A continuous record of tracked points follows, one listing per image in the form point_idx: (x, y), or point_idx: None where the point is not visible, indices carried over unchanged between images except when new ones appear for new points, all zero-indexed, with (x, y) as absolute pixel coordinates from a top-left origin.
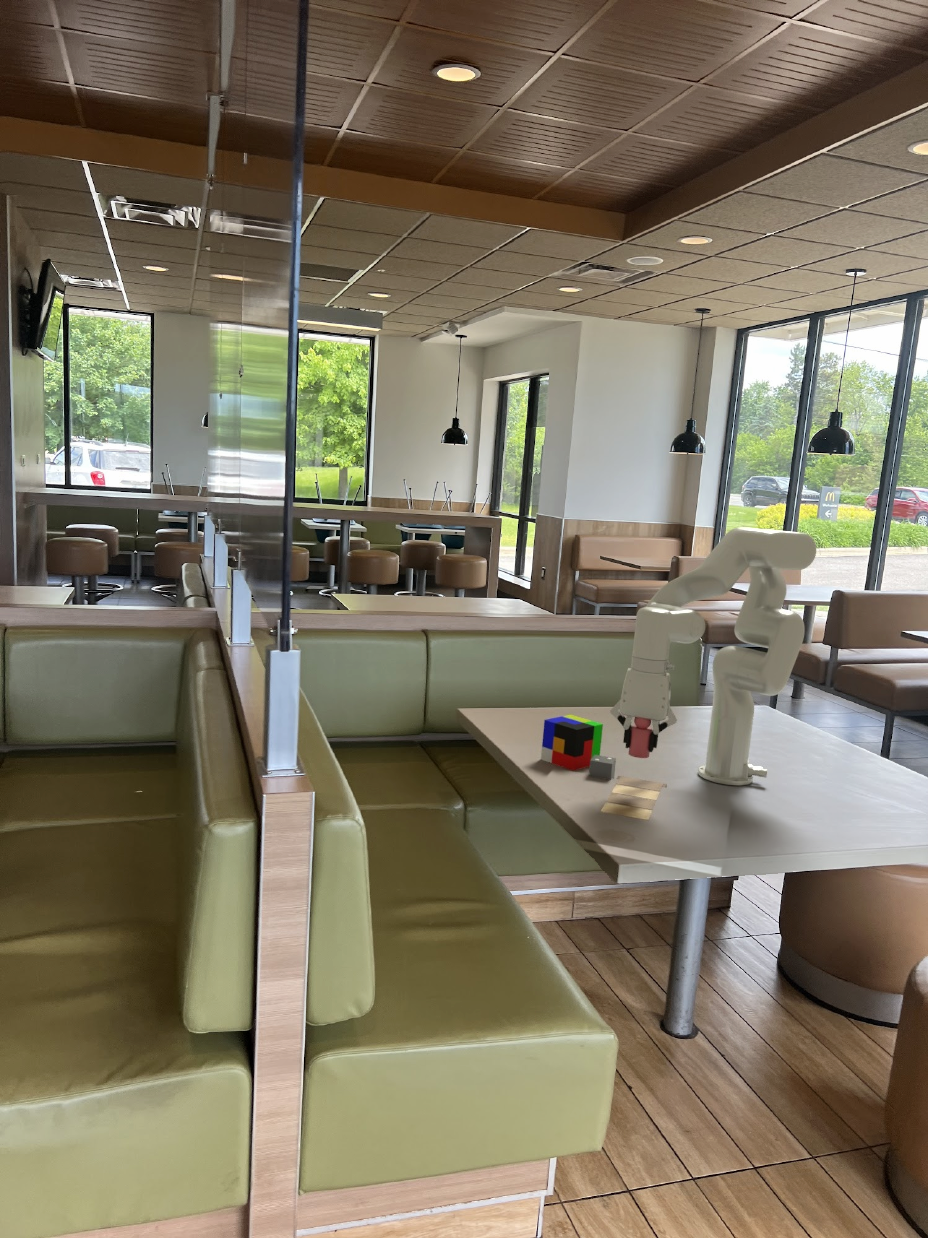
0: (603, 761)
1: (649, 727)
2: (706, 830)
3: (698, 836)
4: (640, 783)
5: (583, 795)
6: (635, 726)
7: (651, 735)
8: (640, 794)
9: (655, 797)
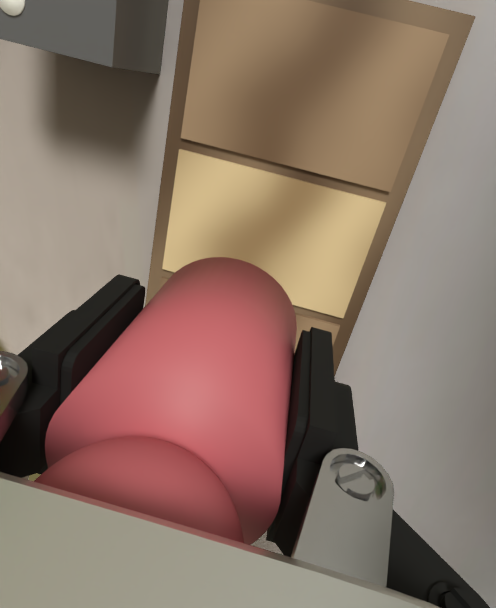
0: (53, 24)
1: (255, 432)
2: (469, 485)
3: (423, 522)
4: (305, 86)
5: (68, 259)
6: (84, 436)
7: (269, 527)
8: (282, 265)
9: (346, 286)
